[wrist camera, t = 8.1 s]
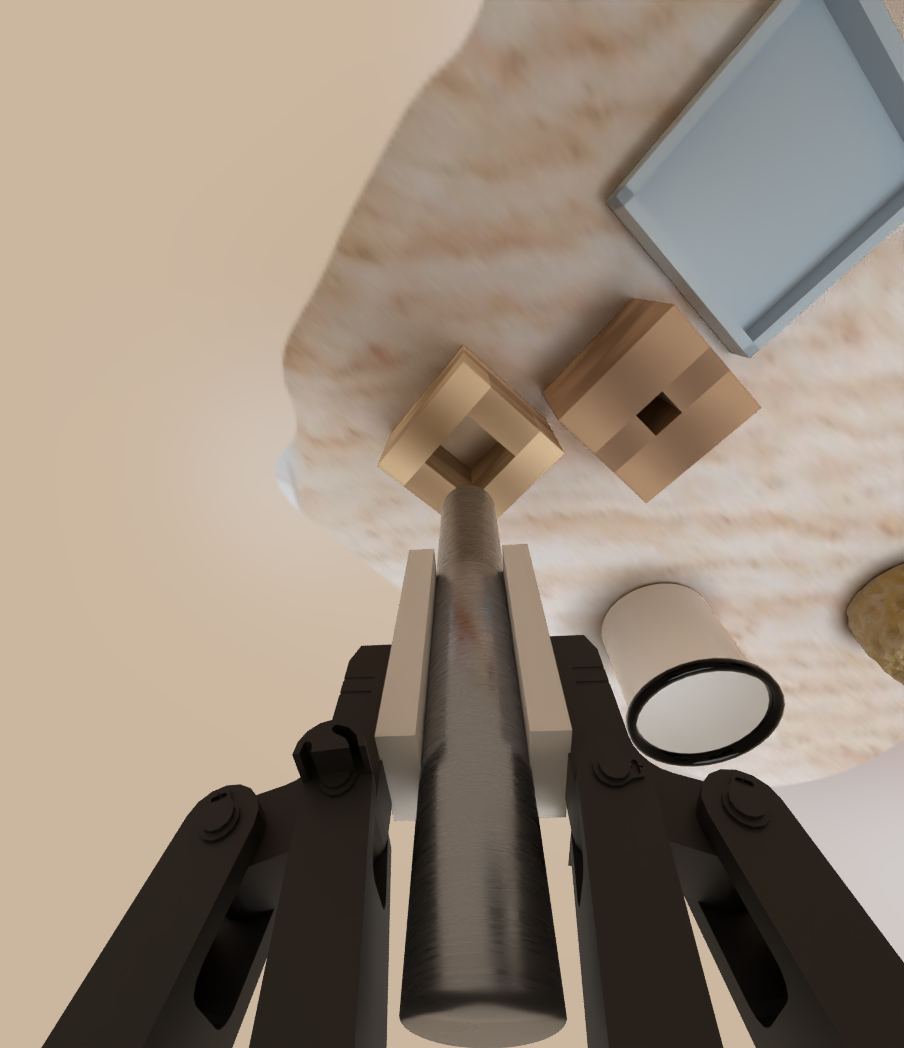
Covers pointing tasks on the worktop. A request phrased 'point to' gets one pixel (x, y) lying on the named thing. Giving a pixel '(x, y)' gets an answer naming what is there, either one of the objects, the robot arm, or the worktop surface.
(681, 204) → the tray
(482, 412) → the oak block
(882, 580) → the coral
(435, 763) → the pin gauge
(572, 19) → the worktop surface
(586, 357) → the walnut block
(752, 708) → the mug
